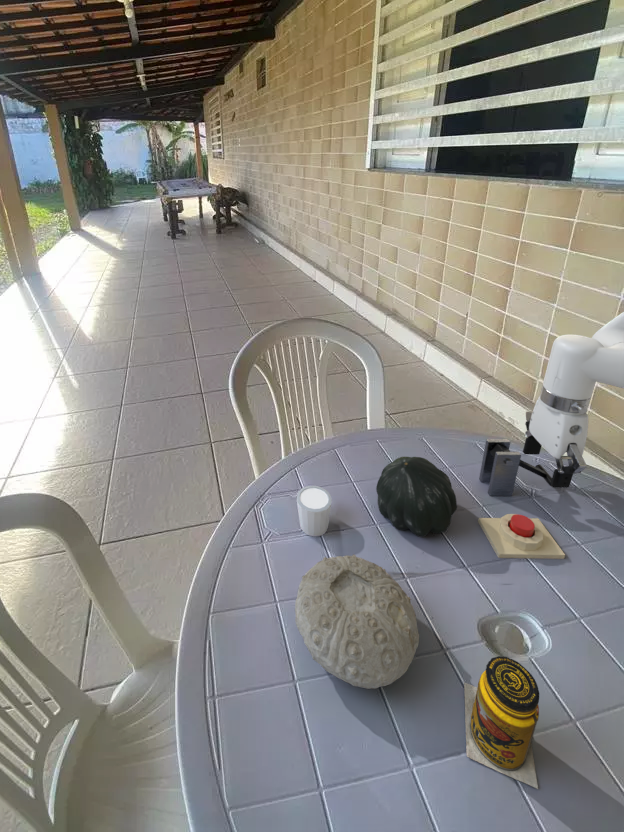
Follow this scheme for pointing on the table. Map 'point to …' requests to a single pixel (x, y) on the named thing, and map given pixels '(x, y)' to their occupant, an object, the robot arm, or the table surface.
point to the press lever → (525, 464)
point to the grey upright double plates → (499, 468)
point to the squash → (416, 496)
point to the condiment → (503, 719)
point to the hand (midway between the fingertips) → (544, 469)
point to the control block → (519, 540)
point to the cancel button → (522, 525)
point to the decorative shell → (356, 621)
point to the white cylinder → (314, 510)
